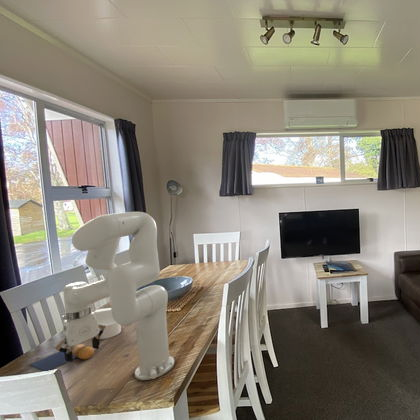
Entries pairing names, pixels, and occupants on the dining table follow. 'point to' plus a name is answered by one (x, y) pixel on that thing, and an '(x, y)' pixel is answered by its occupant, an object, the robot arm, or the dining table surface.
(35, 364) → the napkin
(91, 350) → the bread roll
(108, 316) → the base with upright slab
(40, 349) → the dining table surface
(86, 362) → the dining table surface
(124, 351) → the dining table surface
